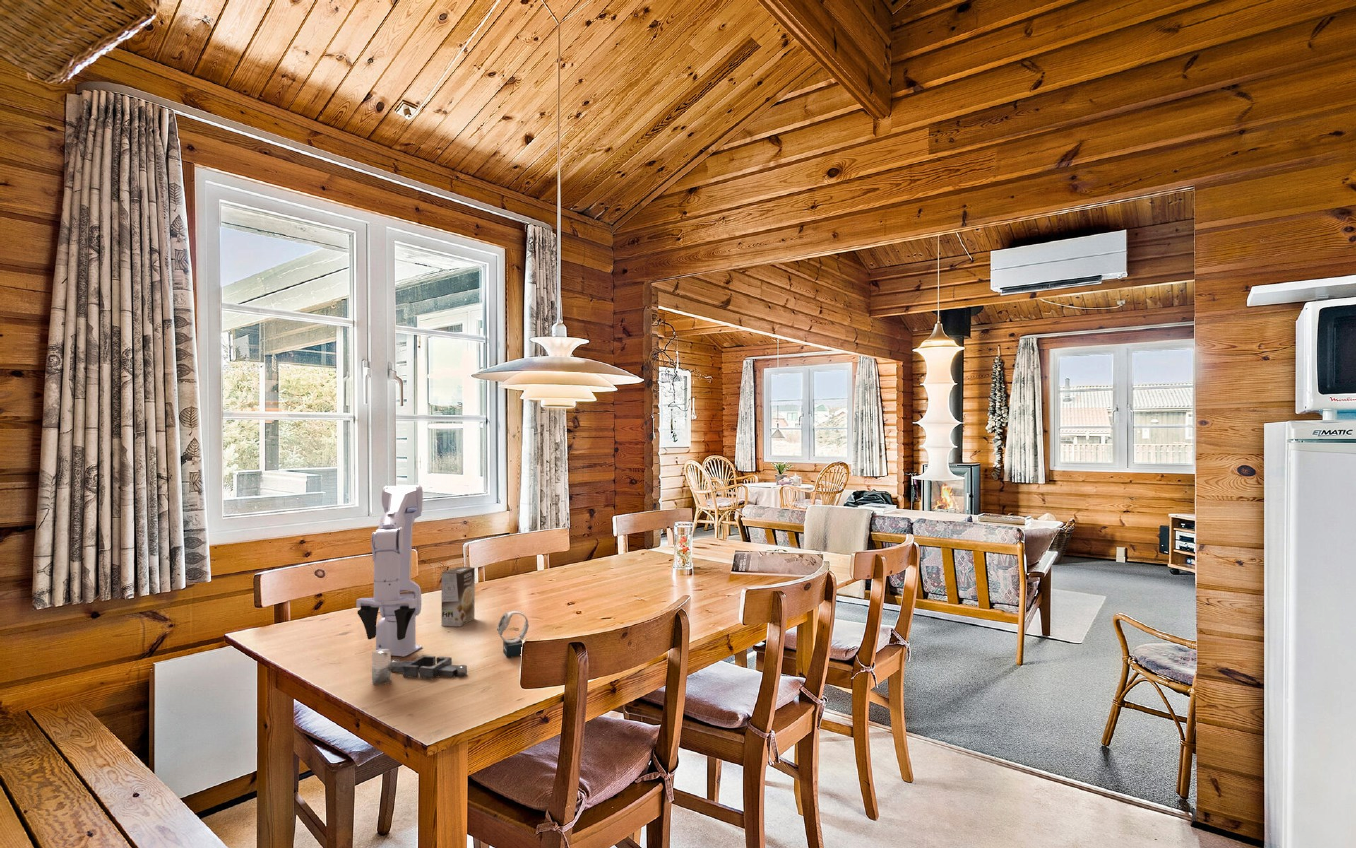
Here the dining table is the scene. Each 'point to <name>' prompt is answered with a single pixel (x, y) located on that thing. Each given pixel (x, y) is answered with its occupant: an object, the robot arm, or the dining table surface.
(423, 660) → the chain end left
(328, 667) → the dining table surface
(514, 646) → the watch
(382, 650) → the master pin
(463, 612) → the coffee box
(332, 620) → the dining table surface
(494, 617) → the dining table surface
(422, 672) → the chain end right
